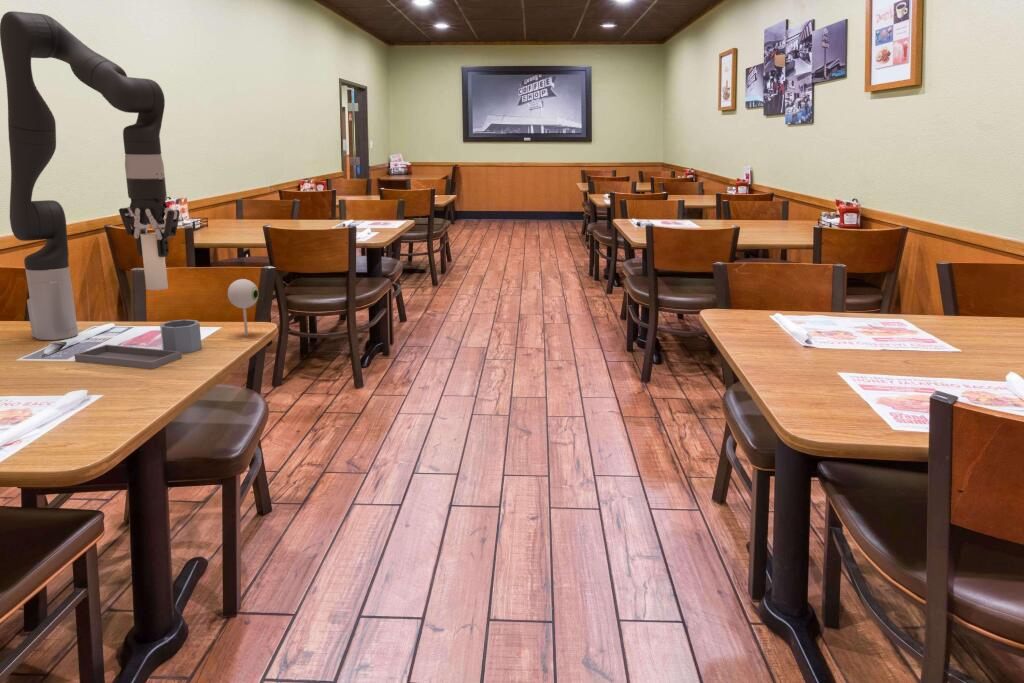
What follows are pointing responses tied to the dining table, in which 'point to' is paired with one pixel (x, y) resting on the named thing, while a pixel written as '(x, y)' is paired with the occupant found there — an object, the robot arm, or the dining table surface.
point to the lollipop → (243, 296)
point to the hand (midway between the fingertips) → (153, 255)
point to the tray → (128, 356)
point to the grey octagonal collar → (181, 336)
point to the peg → (153, 263)
